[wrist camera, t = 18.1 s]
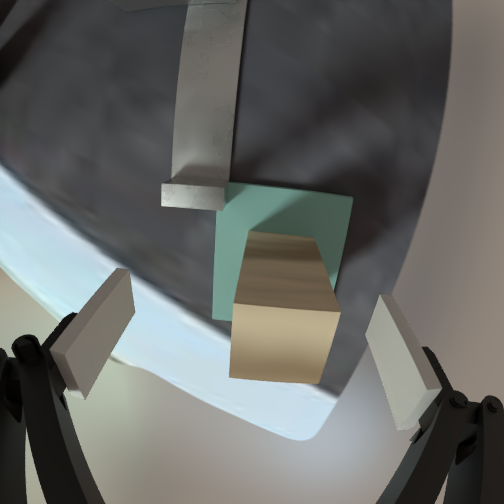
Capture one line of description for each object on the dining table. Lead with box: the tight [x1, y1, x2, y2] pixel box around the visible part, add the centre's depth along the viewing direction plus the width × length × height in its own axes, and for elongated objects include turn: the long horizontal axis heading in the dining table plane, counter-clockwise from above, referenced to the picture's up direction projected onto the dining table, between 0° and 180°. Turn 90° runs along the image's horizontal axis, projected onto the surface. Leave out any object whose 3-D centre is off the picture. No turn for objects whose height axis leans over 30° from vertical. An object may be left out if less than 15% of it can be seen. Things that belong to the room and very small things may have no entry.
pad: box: [212, 182, 353, 321], centre depth 24 cm, size 12×10×1 cm
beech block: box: [229, 231, 341, 384], centre depth 19 cm, size 5×5×10 cm
